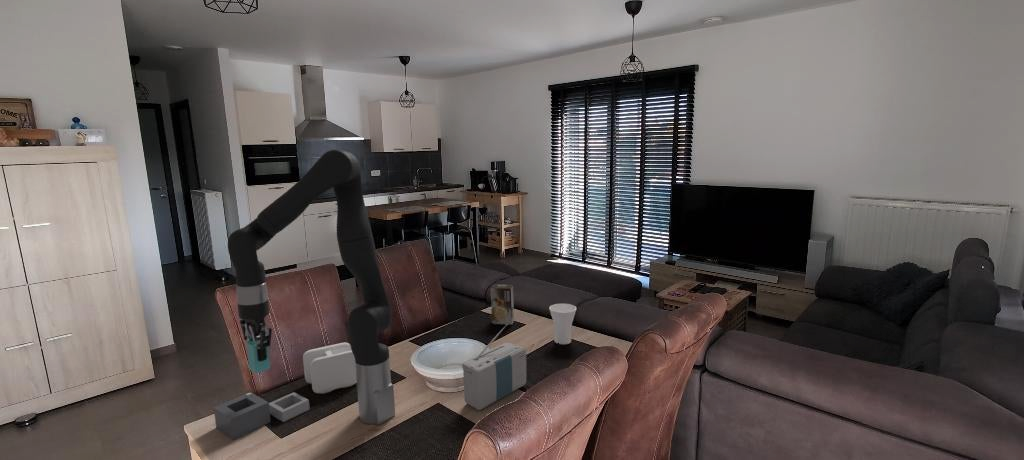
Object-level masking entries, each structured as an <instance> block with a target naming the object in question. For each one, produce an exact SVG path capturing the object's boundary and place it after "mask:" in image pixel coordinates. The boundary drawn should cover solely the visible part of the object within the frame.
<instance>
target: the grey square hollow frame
mask: <svg viewBox="0 0 1024 460" xmlns="http://www.w3.org/2000/svg"><path fill="white" fill-rule="evenodd" d="M269 410H270V416H272V417H274V418H276V419H277V420H279V421H281V422H282V423H285V422H287V421H289V420H291V419H294V418H296V417H297V416H299V415H301V414H303V413H306V412H307V411H309V410H310V401H309V399H308V398H306V397H304V396H302V395H300V394H298V393H297V392H294V391H293V392H292V393H289V394H287V395H283V396H282V397H280V398H278V399H274V400H273V401H271V402H269Z"/></svg>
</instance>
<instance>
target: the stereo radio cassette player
mask: <svg viewBox="0 0 1024 460" xmlns="http://www.w3.org/2000/svg"><path fill="white" fill-rule="evenodd" d="M508 325H509V324H505V326H504V327H503V328H502V329H501V330H500V331H499V332H498V333H497V334H496V335H495V336H494V337H493V338H492V340H491V341H490V342H488V344H487V346H485V347H484V348H483V350H482V351H481V352H480V353H479V354H478V355H476V356H474V357H472V358H469V359H467V360H465V361H462V364H461V367H462V371H463V372H462V373H463V392H464V393H463V394H464V395H463V396H464V397H463V399H464V402H465V403H466V404H467V405H469V406H471V407H472V408H474V409H476V410H477V411H481V410H483V409H485V408H486V407H488V406H490V405H492V404H493V403H495V402H497V401H499V400H500V399H502V398H503V397H506V396H507V395H510V394H511V393H513V392H514V391H517V390H518V389H520V388H522V387H523V386H525V384H526V383H527V353H526V349H525V347H522V346H520V345H517V344H516V343H515V344H514V343H510V342H504V343H502V344H500V345H498V346H495V347H494V348H491V349H489V350H487V349H488V348H489V347H490V345H491V344H492V343H494V341H495V340H496V338H497V337H499V335H500V334H501V333H502V332H503V330H504V329H505V328H506V326H508Z"/></svg>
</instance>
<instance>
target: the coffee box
mask: <svg viewBox="0 0 1024 460" xmlns="http://www.w3.org/2000/svg"><path fill="white" fill-rule="evenodd" d="M490 304H491V305H490V306H491V309H490V310H491V324H492V323H493V324H492V325H506V324H508V325H513V323H514V322H515V313H514V312H515V309H514V308H515V307H514V306H515V305H514V284H504V283H503V284H501V283H500V284H499V283H493V284H492V285H491V288H490Z"/></svg>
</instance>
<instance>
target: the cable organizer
mask: <svg viewBox="0 0 1024 460" xmlns="http://www.w3.org/2000/svg"><path fill="white" fill-rule="evenodd" d="M302 363H303V371H304V379H305V381H306V383H308V384H311V388H312V391H313V392H314V393H315V394H327V393H330V392H332V391H334V390H337V389H341V388H342V389H345V388H348V387H353V385H355V384H357V380H356V367H355V357H354V355H353V353H352V350H351V345H350V343H348V342H340V343H339V342H338V343H336V344H329V345H326V346H322V347H317V348H312V349H308V350H307V351H305V352H304V353H303V354H302Z"/></svg>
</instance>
